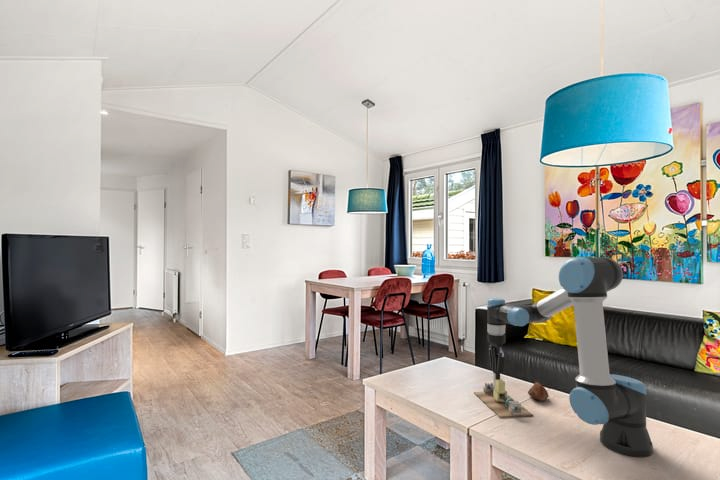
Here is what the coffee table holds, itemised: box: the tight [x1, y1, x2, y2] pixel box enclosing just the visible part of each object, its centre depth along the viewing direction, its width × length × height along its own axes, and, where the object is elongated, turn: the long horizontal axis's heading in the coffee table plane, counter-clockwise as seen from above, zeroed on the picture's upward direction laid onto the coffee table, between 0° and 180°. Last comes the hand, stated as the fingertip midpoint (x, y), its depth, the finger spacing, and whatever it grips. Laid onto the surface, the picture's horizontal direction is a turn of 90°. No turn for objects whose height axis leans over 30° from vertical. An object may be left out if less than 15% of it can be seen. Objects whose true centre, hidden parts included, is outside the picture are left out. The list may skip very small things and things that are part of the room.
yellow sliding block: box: [493, 378, 508, 402], centre depth 171 cm, size 4×4×8 cm
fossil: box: [527, 381, 550, 402], centre depth 177 cm, size 13×8×10 cm
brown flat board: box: [473, 382, 534, 419], centre depth 170 cm, size 26×14×5 cm, turn 6°
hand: (496, 386), depth 175 cm, fingers closed
